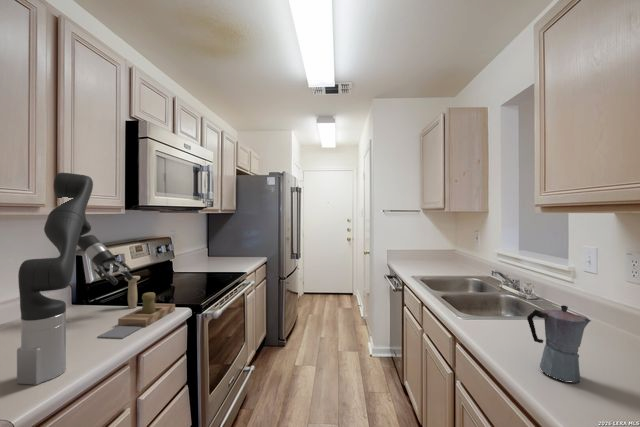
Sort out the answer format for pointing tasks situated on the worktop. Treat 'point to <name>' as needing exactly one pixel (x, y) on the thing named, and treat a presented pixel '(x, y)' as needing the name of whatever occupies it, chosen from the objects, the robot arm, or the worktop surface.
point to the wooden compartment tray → (146, 316)
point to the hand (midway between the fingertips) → (124, 281)
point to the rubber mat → (119, 332)
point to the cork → (148, 303)
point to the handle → (132, 291)
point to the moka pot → (560, 342)
